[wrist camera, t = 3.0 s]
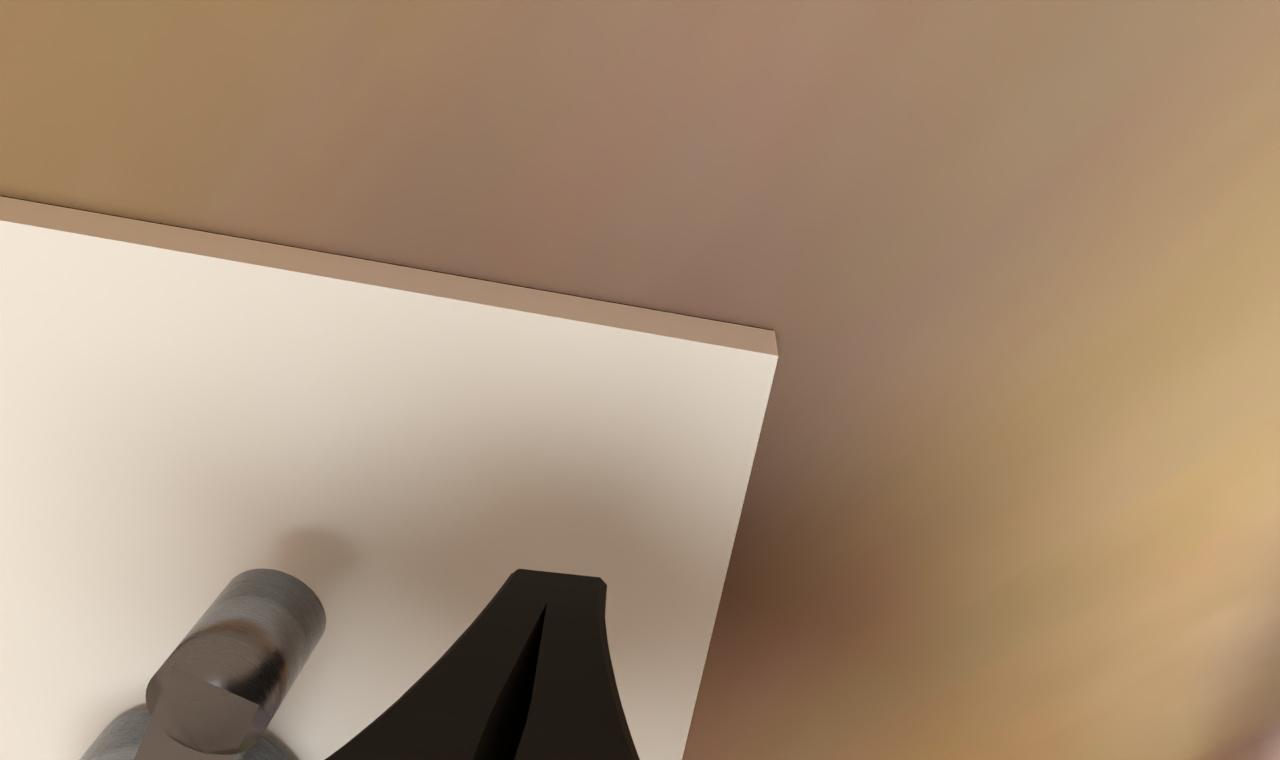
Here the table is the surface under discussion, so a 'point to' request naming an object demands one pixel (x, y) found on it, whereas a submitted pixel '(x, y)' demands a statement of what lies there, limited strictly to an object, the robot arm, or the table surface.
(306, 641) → the grey crank handle
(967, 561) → the table surface
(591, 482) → the white paper sheet
